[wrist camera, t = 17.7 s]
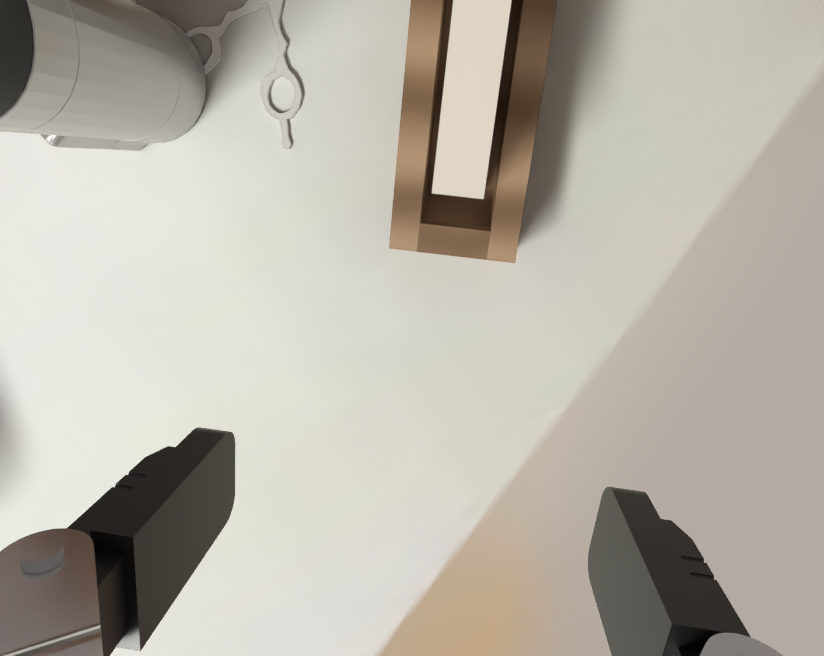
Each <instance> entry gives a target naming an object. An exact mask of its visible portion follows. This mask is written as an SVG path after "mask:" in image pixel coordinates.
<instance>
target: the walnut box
mask: <svg viewBox="0 0 824 656" xmlns="http://www.w3.org/2000/svg"><path fill="white" fill-rule="evenodd" d="M556 3H557V0H512V1H511V8H510V15H509V23H508V30H507V37H506V44H505V51H504V58H503V65H502V72H501V79H500V86H499V94H498V101H497V108H496V115H495V122H494V129H493V136H492V143H491V150H490V157H489V165H488V172H487V179H486V186H485V193H484V199H477V198H468V197H459V196H451V195H442V194H433V193H432V185H433V176H434V167H435V159H436V150H437V141H438V132H439V123H440V114H441V105H442V96H443V87H444V78H445V70H446V61H447V52H448V43H449V34H450V25H451V16H452V7H453V0H411V7H410V19H409V30H408V41H407V52H406V64H405V75H404V86H403V98H402V109H401V120H400V131H399V143H398V154H397V165H396V176H395V188H394V199H393V210H392V221H391V233H390V244H389V248H391V249H399V250H408V251H416V252H425V253H433V254H442V255H450V256H459V257H467V258H476V259H484V260H493V261H501V262H510V263H515V259H516V253H517V247H518V241H519V234H520V228H521V222H522V216H523V209H524V203H525V197H526V191H527V184H528V178H529V172H530V166H531V159H532V153H533V147H534V141H535V134H536V128H537V122H538V116H539V109H540V103H541V97H542V91H543V84H544V78H545V72H546V66H547V59H548V53H549V47H550V41H551V34H552V28H553V22H554V16H555V9H556Z"/></svg>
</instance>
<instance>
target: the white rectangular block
mask: <svg viewBox="0 0 824 656" xmlns="http://www.w3.org/2000/svg"><path fill="white" fill-rule="evenodd" d="M511 1H512V0H453V7H452V16H451V25H450V34H449V43H448V52H447V61H446V70H445V78H444V87H443V96H442V105H441V114H440V123H439V132H438V141H437V150H436V159H435V167H434V176H433V185H432V193H433V194H442V195H451V196H459V197H468V198H477V199H484V193H485V186H486V179H487V172H488V165H489V157H490V150H491V143H492V136H493V129H494V122H495V115H496V108H497V101H498V94H499V86H500V79H501V72H502V65H503V58H504V51H505V44H506V37H507V30H508V23H509V15H510V8H511Z"/></svg>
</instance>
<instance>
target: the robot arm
mask: <svg viewBox="0 0 824 656" xmlns="http://www.w3.org/2000/svg"><path fill="white" fill-rule="evenodd" d="M205 95H206V75H205V71H204V67H203V63H202V60H201V58H200V55H199V53H198V51H197V48H196V47H195V45H194V44H193V42H192V41H191V40H190V38H189V37H188V35H187V34H186V33H185V32H184V31H183V30H182V29H181V28H180V27H179V26H177V25H176V24H174V23H173V22H171V21H170V20H168V19H167V18H165V17H163V16H161V15H159V14H157V13H155V12H154V11H152V10H150V9H146V8H144V7H142V6H140V5H138V4H136V3H134V2H132V1H130V0H0V132H17V133H31V134H40V135H41V136H42V137H43V138H44V139H45V140H46V141H47V142H48V143H49V144H50V145H52V146H55V147H67V148H90V149H113V150H136V151H140V150H141V149H142V148H143V147H144V146H145V145H147V144H149V143H158V142H167V141H170V140H174V139H176V138H178V137H180V136H181V135H183V134H185V133H186V132H187V131H188V130H189V129H190V128H191V127H192V126H193V125H194V124H195V122H196V120H197V119H198V117H199V115H200V113H201V111H202V108H203V105H204V102H205ZM234 497H235V438H234V435H233V433H232V432H227V431H220V430H213V429H206V428H195V429H194V430H193V431H192V432H191V433H190V434H189V435H188V436H187V437H186V438H185V439H184V440H183V441H182V442H181V443H180V444H179V445H177V446H176V447H169V446H168V447H166V448H164V449H162V450H160V451H157V452H155V453H153V454H151V455H149V456H147V457H145V458H144V459H143V460H142V461H141V462H140V463H138V464H137V465H136V466H135V467H134V468H133V469H132V470H131V471H130V472H129V475H125V476H124V477H123V478H122V479H121V480H120V481H119V482H118V483H116V486H115V488H114V487H112V488H111V489H110V490H109V491H108V492H107V493H105V494H104V495H103V496H102V497H101V498H100V499H99V500H98V501H97V502H95V503H94V504H93V505H92V506H91V507H90V508H89V509H88V510H87V511H86V512H84V513H83V514H82V515H81V516H80V517H79V518H78V519H77V520H76V521H75V522H73V523H72V524H71V525H70V526H69V527H68V528H67V529H51V530H46V531H41V532H38V533H34V534H31V535H29V536H26V537H24V538H22V539H19V540H17V541H16V542H14V543H12V544H10V545H9V546H7V547H6V548H4V549H3V550H2V551H1V552H0V656H110V654H111V653H112V652H113V650H114V649H115V647H120V648H125V649H131V650H137V651H141V649H142V648H143V646H144V645H145V643H146V642H147V641H148V639H149V638H150V636H151V635H152V633H153V632H154V630H155V629H156V627H157V626H158V624H159V623H160V621H161V620H162V618H163V617H164V615H165V614H166V612H167V611H168V609H169V608H170V606H171V605H172V603H173V602H174V600H175V599H176V597H177V596H178V594H179V593H180V591H181V590H182V588H183V587H184V586H185V584H186V583H187V581H188V580H189V578H190V577H191V575H192V574H193V572H194V571H195V569H196V568H197V566H198V565H199V563H200V562H201V560H202V559H203V557H204V556H205V554H206V553H207V551H208V550H209V548H210V547H211V545H212V544H213V542H214V541H215V539H216V538H217V536H218V535H219V533H220V532H221V531H222V529H223V528H224V526H225V525H226V523H227V521H228V519H229V517H230V514H231V511H232V508H233V504H234ZM588 572H589V578H590V583H591V586H592V590H593V593H594V596H595V600H596V603H597V607H598V610H599V613H600V617H601V620H602V624H603V627H604V630H605V634H606V637H607V640H608V644H609V647H610V651H611V654H612V656H783V655H781V654H780V653H778V652H777V651H776V650H774V649H773V648H771V647H769V646H768V645H766V644H764V643H762V642H760V641H758V640H756V639H753V638H751V637H750V635H749V633H748V632H747V630H746V629H745V627H744V625H743V623H742V622H741V620H740V618H739V617H738V615H737V613H736V612H735V610H734V608H733V607H732V605H731V603H730V602H729V600H728V598H727V597H726V595H725V593H724V592H723V590H722V588H721V587H720V585H719V583H718V582H717V580H714V575H713V573H712V572H711V570H710V568H709V567H708V565H707V563H704V558H703V557H702V555H701V553H700V552H699V550H698V549H697V547H696V545H695V544H694V542H693V540H692V539H691V538H690V537H689V536H688V535H687V534H686V533H684V532H683V531H682V530H681V529H680V528H679V527H678V526H676V524H674V523H673V522H672V521H670V520H663V519H660V517H659V515H658V513H657V511H656V510H655V508H654V506H653V504H652V502H651V501H650V499H649V497H648V495H647V494H646V493H645V492H640V491H634V490H627V489H620V488H613V487H607V488H606V489H605V490H604V492H603V494H602V498H601V502H600V507H599V511H598V515H597V519H596V523H595V527H594V531H593V535H592V539H591V544H590V548H589V555H588Z"/></svg>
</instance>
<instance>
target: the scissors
mask: <svg viewBox="0 0 824 656" xmlns="http://www.w3.org/2000/svg"><path fill="white" fill-rule="evenodd" d="M267 4H268V6H269V10H270V14H271V17H272V21H273V25H274V28H275V31H276V35H277V39H278V45H279V56H278V59H277V62H276V65H275V69H274V71H273V72H272V73H271V74H269V75H268V76H267V77H265V78H264V79H262V80H261V96H262V100H263V104H264V106H265V108H266V111H267V112H268V113H269V114H270V115H271V116H272V117H274V118H276V119H278V120H279V121H280V125H281V129H282V134H283V138H282V148H285V149H290V148H291V146H292V143H291V140H290V137H289V126H288V119H292V118H293V117H294V116H295V114H296V113H297V112H298V110H299V109H300V105H301V101H302V97H303V94H302V90H301V86H300V83H299V81H298V80H297V78H296V76H295V75H294V74H293V73H292V72H291V71H290V70H289V67H288V64H287V61H286V58H285V53H286V50H287V47H288V43H287V41H286V40H285V38H284V36H283V34H282V31H281V27H280V23H279V22H280V18H281V14H282V9H283V4H284V0H247V1H246V3H245V4H244V6H243V7H241V8H239V9H238V10H234V11H227V13H226V15H225V17H224V19H223V21H222V23H221V24H220V25H219V26H211V27H203V26H200V27H196V28H194V29H192V30H190V31H188V32H186V34H187V35H188V37H189V38H191V37H193V36H195V35H197V34H204V35H206V36H208V37H209V38H210V40H211V41H212V54H211V56H210V57H209V59H208V61H207V63H206V64H205V65H204V66H203V67H204V71H205V75H206V74H207V73H208V72H210V71H211V70H212V69H214V68H215V66H216V65H217V64H218V62H219V61H220V60H221V50H220V42H219V37H221V36H222V35H223V34H224V32H225V30H226V28H227V25H228V24H230V23H231V22H232V21H234V20H235V19H237V18H239V17H241V16H242V15H244V14H246V13H248V12H251V11H255V10H258V9H260V8H262V7H263V6H265V5H267ZM282 76H283V77H285V78H287V79H288V80H290V81H291V82H292V85H293V87H294V92H295V99H294V102H293V104H292V107H291V108H290V110H289V111H287V112H285V113H278V112H277V111H275V110H274V109H273V108H272V107H271V105H270V101H269V92H270V88H271V86H272V84H273V82H274V80H276V79H278V78H280V77H282Z"/></svg>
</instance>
